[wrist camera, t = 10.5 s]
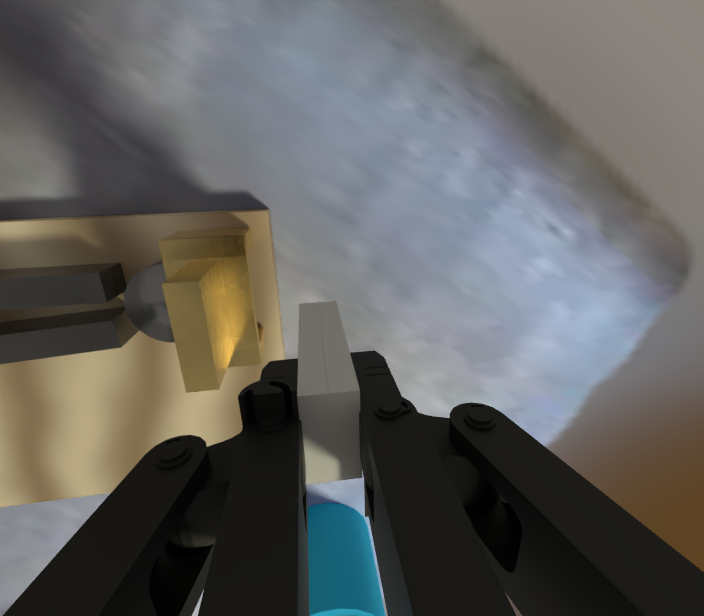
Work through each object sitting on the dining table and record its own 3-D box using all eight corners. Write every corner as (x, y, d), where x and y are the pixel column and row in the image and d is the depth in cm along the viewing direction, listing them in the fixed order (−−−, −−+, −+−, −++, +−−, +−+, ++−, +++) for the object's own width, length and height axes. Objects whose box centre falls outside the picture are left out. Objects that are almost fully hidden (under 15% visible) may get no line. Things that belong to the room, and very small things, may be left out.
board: (-189, 515, 24) (-219, 536, 23) (-402, 236, 18) (-462, 241, 16) (295, 454, 28) (295, 468, 27) (269, 208, 22) (267, 210, 20)
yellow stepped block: (201, 346, 22) (160, 416, 16) (178, 231, 20) (118, 257, 13) (265, 341, 23) (252, 406, 16) (251, 227, 20) (228, 251, 14)
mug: (259, 530, 31) (246, 646, 23) (341, 487, 30) (356, 591, 23) (326, 601, 35) (334, 717, 28) (399, 564, 35) (427, 671, 27)
